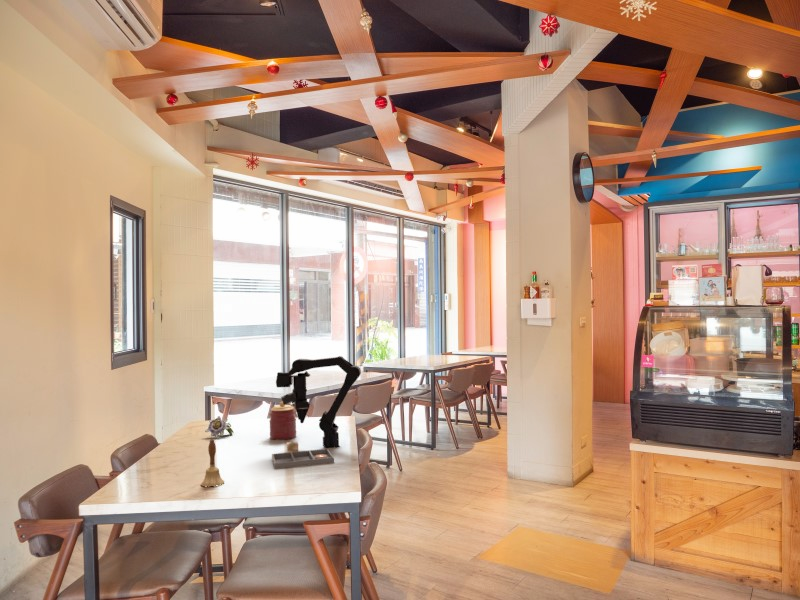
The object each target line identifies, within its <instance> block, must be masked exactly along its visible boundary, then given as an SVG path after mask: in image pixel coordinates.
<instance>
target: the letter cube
mask: <svg viewBox="0 0 800 600" xmlns="http://www.w3.org/2000/svg"><path fill="white" fill-rule="evenodd" d="M289 452H299V442H298V441H289V442H287V441H286V453H289Z"/></svg>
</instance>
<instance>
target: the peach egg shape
mask: <svg viewBox="0 0 800 600" xmlns="http://www.w3.org/2000/svg"><path fill="white" fill-rule="evenodd" d="M321 458H327V455H324V454H321V455H316V456H315V459H321Z"/></svg>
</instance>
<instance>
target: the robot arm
mask: <svg viewBox="0 0 800 600" xmlns="http://www.w3.org/2000/svg"><path fill="white" fill-rule="evenodd" d="M335 366H338V367H339V368H340V369H341V370H342V371H343V372H344V373H345V374H346V375H345V378H344V381H343V384H342V386H341V387H340V389H339V392H338V393H337V395H336V397H335V399H334V400H333V402H332V404H331V406H330V408H329V410H328V411H327V410H324V411H323V413H322V415H321V418H320V419H319V422H318V423H319V424H318V427H319V429H320V430H321V431H322V432H323V436H322V446H323V448H324V449H331V448H332V449H333V448H340V441H339V440H340V439H339V434H340V433H339V431H338V430H339V426H338V425H337V424H336V423H335V420H336V417H337V414H338V412H339V410H340V409H341V406H342V404H343V402H344V401H345V400H346V397H347V396H348V394H349V391H350V390H351V387H352V386H353V385H354V384H355V382H356V381H357V380H358V379H359V378H360V376H361V373H362V370H361V369H362V368H360V367H359V366H357V365H354V364H353V363H351V362H349V361H348V360H347V359H345V358H344V357H343V356H342V355H339V356H335V357H327V358H325V357H324V358H317V359H308V358H298V359H296V360H294V361H293V362H292V364H291V369H290V370H289V371H288V372H282V371H280V372H277V374H276V380H275V385H276V388H290V387H291V385H293V387H292V388H293V389H292V391H291V392H290V393H286V394H284V395H283V396H280V400H281V402H283V404H284V405H288V403H291V406H292V407H294V409H295V412H296V415H297V418H298V420H299V422H300V424H303V423H304V422H305V419H306V416H307V413H308V412H309V409H310V407H311V406H310V402H309V401H308V397H307V392H308V388H307V378H309V377H311V374H310V373H309V372H308V370H312V369H317V368H318V369H319V368H326V367H335Z"/></svg>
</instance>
